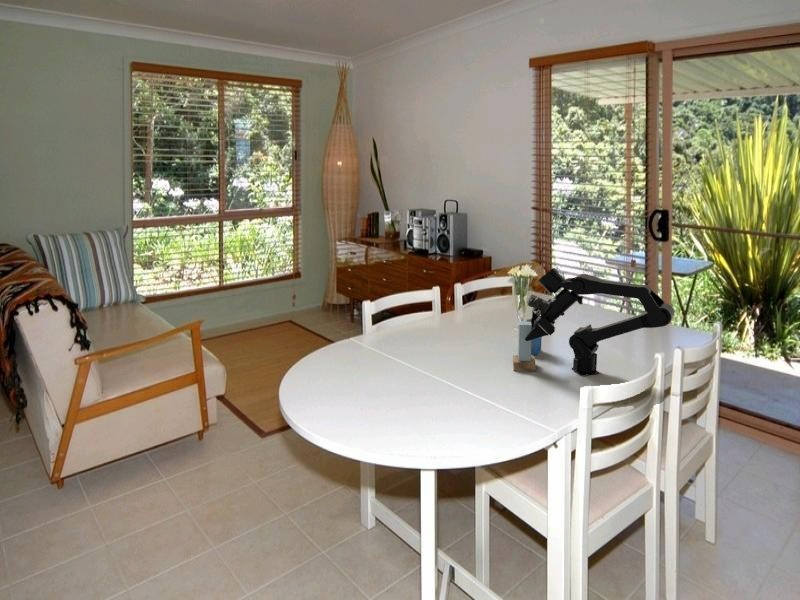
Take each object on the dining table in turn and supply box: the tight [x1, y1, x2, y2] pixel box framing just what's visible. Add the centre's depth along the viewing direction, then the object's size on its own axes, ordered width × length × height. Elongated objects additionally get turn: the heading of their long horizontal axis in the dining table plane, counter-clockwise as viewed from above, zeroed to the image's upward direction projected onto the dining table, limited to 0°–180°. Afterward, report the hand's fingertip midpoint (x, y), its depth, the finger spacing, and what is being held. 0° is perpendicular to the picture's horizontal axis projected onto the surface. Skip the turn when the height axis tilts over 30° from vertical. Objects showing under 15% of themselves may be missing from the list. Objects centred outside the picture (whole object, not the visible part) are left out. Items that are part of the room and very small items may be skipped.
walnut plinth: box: [512, 354, 536, 372], centre depth 189 cm, size 7×7×3 cm
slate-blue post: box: [517, 321, 532, 361], centre depth 188 cm, size 4×4×12 cm
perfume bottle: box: [525, 318, 542, 357], centre depth 204 cm, size 6×6×12 cm
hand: (524, 336), depth 187 cm, fingers open, 9 cm apart
